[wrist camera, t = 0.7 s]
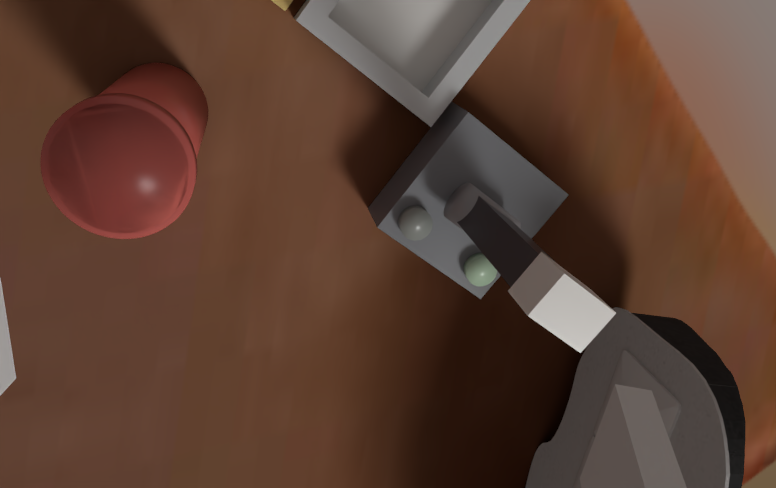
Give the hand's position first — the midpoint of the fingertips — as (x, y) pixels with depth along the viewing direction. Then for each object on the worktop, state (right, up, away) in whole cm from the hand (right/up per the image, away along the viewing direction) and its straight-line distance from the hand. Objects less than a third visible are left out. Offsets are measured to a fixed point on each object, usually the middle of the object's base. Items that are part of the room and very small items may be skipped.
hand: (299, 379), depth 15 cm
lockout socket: (+2, +15, +18) cm, 23 cm away
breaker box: (+6, +6, +22) cm, 24 cm away
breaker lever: (+6, +4, +18) cm, 20 cm away
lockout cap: (-9, +9, +18) cm, 22 cm away
